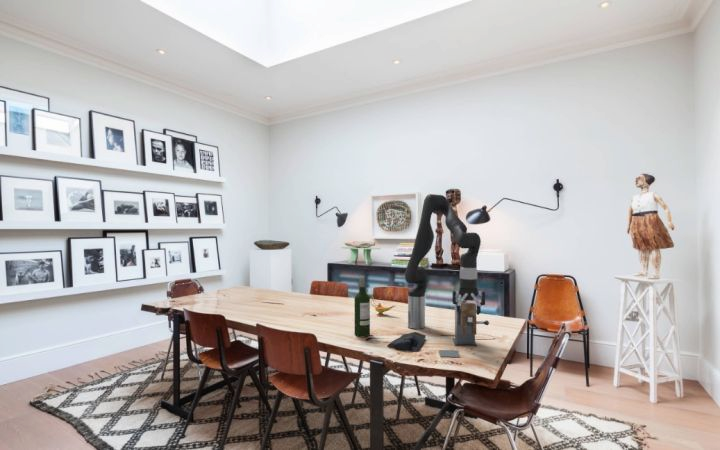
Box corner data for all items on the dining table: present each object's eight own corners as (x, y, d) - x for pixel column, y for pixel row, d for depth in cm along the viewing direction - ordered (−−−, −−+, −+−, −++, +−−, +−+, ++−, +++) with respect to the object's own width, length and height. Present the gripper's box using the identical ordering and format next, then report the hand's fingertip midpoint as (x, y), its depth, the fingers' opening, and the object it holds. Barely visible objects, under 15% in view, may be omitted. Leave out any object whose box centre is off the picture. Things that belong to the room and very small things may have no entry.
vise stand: (458, 353, 160) (458, 314, 160) (452, 340, 179) (452, 305, 179) (496, 355, 158) (496, 315, 158) (487, 341, 177) (487, 306, 177)
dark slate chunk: (430, 340, 181) (430, 330, 181) (416, 354, 161) (416, 343, 161) (401, 336, 188) (401, 326, 188) (384, 349, 168) (384, 338, 168)
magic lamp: (393, 318, 222) (393, 300, 222) (367, 314, 232) (367, 296, 232) (398, 316, 227) (398, 298, 227) (373, 312, 237) (373, 295, 237)
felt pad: (440, 357, 156) (440, 356, 156) (439, 350, 164) (439, 349, 164) (459, 357, 155) (459, 356, 155) (457, 351, 163) (457, 350, 163)
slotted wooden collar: (462, 334, 162) (462, 304, 162) (461, 331, 166) (460, 302, 166) (476, 334, 161) (476, 305, 161) (474, 332, 165) (474, 303, 165)
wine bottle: (364, 337, 183) (364, 277, 183) (351, 335, 188) (351, 276, 188) (372, 333, 190) (372, 275, 190) (359, 331, 194) (359, 274, 194)
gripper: (453, 278, 161) (453, 315, 161) (486, 278, 159) (487, 316, 159) (451, 275, 168) (451, 311, 168) (483, 276, 166) (483, 312, 166)
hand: (468, 314), depth 164 cm, fingers open, 7 cm apart
